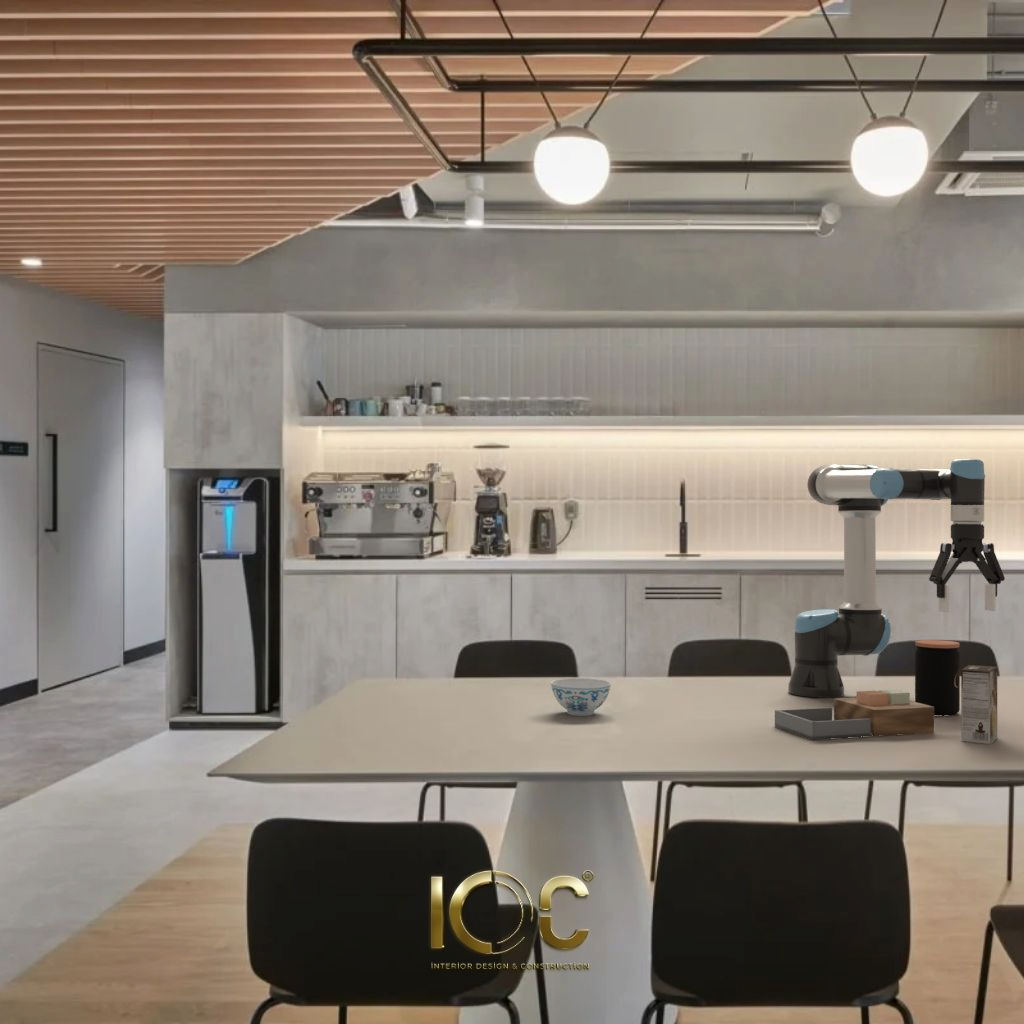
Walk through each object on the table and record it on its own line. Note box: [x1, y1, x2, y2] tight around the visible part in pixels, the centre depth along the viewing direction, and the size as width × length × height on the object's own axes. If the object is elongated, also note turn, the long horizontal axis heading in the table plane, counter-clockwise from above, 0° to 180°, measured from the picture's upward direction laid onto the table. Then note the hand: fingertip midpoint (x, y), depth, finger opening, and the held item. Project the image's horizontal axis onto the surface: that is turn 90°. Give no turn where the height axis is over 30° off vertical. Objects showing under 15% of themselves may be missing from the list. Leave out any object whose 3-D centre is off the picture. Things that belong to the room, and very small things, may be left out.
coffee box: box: [960, 664, 998, 745], centre depth 244 cm, size 9×6×16 cm
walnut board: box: [833, 697, 935, 737], centre depth 257 cm, size 16×16×6 cm
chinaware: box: [550, 677, 612, 717], centre depth 275 cm, size 15×15×8 cm
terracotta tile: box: [856, 690, 888, 705], centre depth 256 cm, size 5×5×2 cm
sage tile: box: [877, 689, 911, 704], centre depth 258 cm, size 5×5×2 cm
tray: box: [774, 706, 873, 741], centre depth 252 cm, size 16×16×4 cm
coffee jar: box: [914, 639, 961, 717], centre depth 278 cm, size 11×11×18 cm
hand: (967, 611), depth 264 cm, fingers open, 13 cm apart
